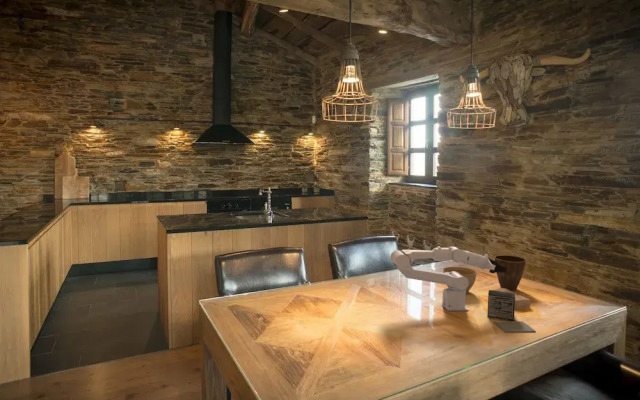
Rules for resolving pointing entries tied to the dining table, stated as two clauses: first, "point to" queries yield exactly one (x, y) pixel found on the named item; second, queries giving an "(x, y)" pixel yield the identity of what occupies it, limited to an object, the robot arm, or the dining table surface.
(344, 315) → the dining table surface
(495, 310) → the small box
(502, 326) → the mat
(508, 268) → the plant pot
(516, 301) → the brick
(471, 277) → the planter bowl
